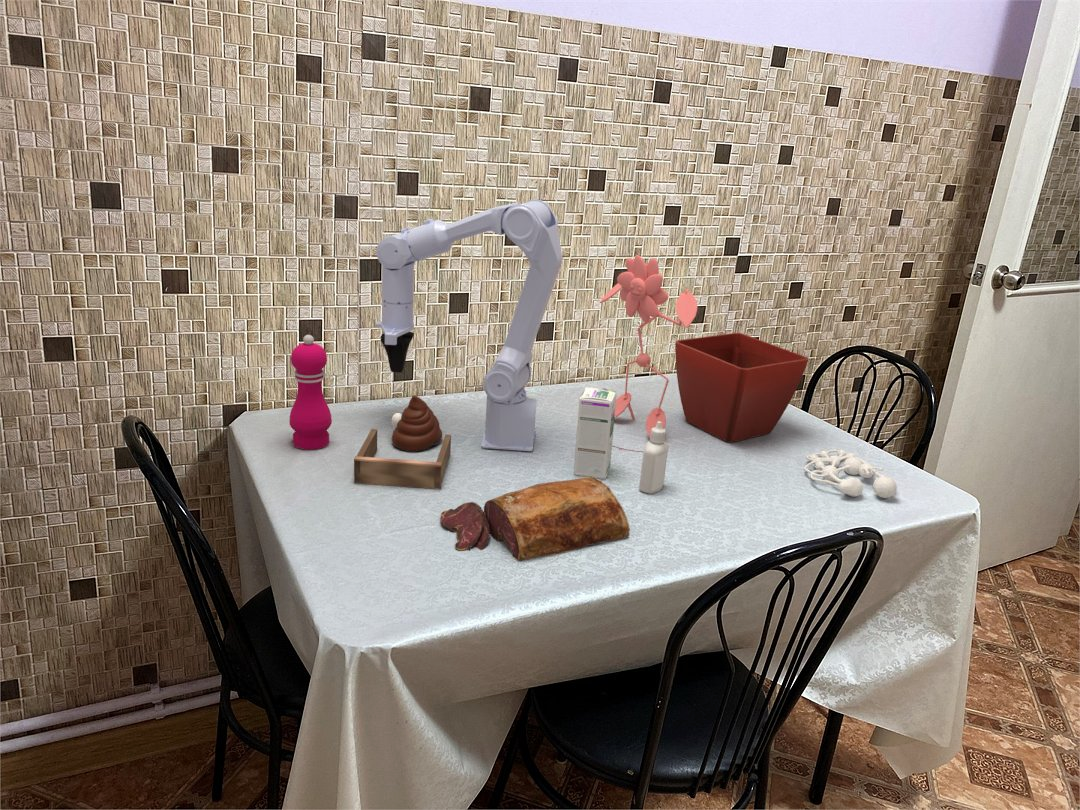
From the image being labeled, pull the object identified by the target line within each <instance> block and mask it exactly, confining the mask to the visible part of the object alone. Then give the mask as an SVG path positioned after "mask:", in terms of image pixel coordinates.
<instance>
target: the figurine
mask: <svg viewBox="0 0 1080 810" xmlns="http://www.w3.org/2000/svg"><path fill="white" fill-rule="evenodd" d="M625 267H626V270H627V271H623V272H621V273H620V274H619V275H618V276H617V278H616V281H617V283H616V284H615V285H614V286H613V287H612V288H611V289H609V290H608V292H606V293H605V295H604V296H603V298H601V300H600V301H599V303H600V304H602V303H604V302H606V301H608V300H610V299H611V298H612V297H614V296H615V295H616V294H618V292H620V293H619V296H620V297H619V298H620V300H621V301H623V302H625V311H626V312H625V313H626V315H627V317H630V318H632V317H635V315H636V313H638V316H639V317H640V319H641V321H642V322H643V323H642V324H639V325H638V327H637V332H638V341H639V347H640V353H639V354H638V355H637V356H636V358H635V360H631V361H630V362H627V364H626V373H625V374H626V375H625V387H624V388H625V391H624V393H623V394H621V395H620V396H618V397H616V405H615V417H614V419H615V418H617V417H618V416H620V415H621V414H623V412H625V410H626V409H627V408H628V409H629V413H630V417H631V420H632V421H634V420H635V419H636V418H635V415H634V411H633V409H632V408H633V407H632V405H631V401H632V394H631V393H630V392H629V393H628V378H629V366H630V365H631V364H632V365H633V364H635V363H636V364H637V365H638V366H639V367H640V368H647V367H648V368H649V369H651V371H654V373H656V374H658V375H659V376H661V377H662V378H663V379H665V380H666V382H665V386H664V388H663V392H662V394H661V398H660V401H659V405H658V407H655V408H653V409H652V410H651V411H650V413H649V414H648V415H647V418H646V420H645V429H646V432H647V434H648V437H649V438H650V435H651V429H652V428H654V427H656V425H657V422H658V421H660V422H662V428H663V429H665V428H666V423H667V421H666V415H665V411H664V410H663V409H662V408H661V407H662V404H663V400H664V399H665V398H664V397H665V394H666V391H667V388H668V385H669V378H668V377H666V376H665V375H663V374H662V373H660V372H659V371H658V370H657V369H655V368H654V367H652V366H651V365H650V363H651V356H650V355H649V354H647V353H644V348H643V339H642V331H641V329H642V328H644V327H645V326H646V325H647V324H649V323H651V322H652V321H653V320H656V319H657V318H662V319H664V320H665V321H666V320H667V321H668V322H670V323H673V324H675V325H678V326H680V327H681V326H682V325H683V326H685V327H686V328H689V327H690V325H692V323H693V321H694V320H695V318H696V317H697V313H698V309H699V308H698V302H697V301H698V300H697V299H696V297H695V296H694V293H692V292H690V290H689V289H685V290H684V292H683V293H681V294H680V295H679V296H678V299H677V300H676V304H675V312H676V316H677V318H678V320H679V321H677V320H676V319H673V318H671V317H669V316H666V315H664V314H663V313H662V311H660V309H659V305H663V304H665V303H666V302H667V301H668V299H669V294H668V293H667V292H666V290H664V289H663V288H662V285H663V280H664V278H663V275H662V274H660V273H659V264H658V260H657V258H655V257H652V258H651V259H649V261H648V262H647V263H646V262H645V260H644V259H643V257H642V256H641V255H640V254H636V255H634V258H631V257H629V258H626V260H625ZM665 436H667V435H666V434H665ZM612 448H617V449H618V450H621V451H627V452H629V451H630V452H637V453H643V451H641V450H640V451H639V450H632V449H627V448H623V447H618V446H616V445H615V446H614V445H612Z"/></svg>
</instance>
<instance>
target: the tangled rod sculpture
mask: <svg viewBox="0 0 1080 810" xmlns="http://www.w3.org/2000/svg"><path fill="white" fill-rule="evenodd" d="M830 453H836V455H831V456H829V454H830ZM805 459H806V460H807V461H809V462H808V463H807V464H806V465H805V466H803V470H804V471H805V472H807V473H808V474H809V477H810V479H811V480H812V481H815V482H820V483H825V484H830V485H832V486H836V487H838V489H839V491H840V492H842V493H843V494H846V495H847V496H849V497H855V498H856V497H858V496H860V495H861V494H862V493H863V489H864V485H863V483H862V481H861V480H860V479H858V478H856V477H849V478H847V479H846V478H845V479H844V478H842V479H841V478H839V476H840V475H839V474H840V472H842V471H844V472H845V473H846V474H848V475H850V476H857V475H859V476H860V477H861V478H864V479H869V478H872V477H873V476H875V477H877V478H876V479H875V480H874V481H873V484H872V489H873V492H874V493H875V495H876V496H878V497H880V498H882V499H883V498H884V499H888V498H891V497H892V496H894V495H895V494H896V492H897V488H898V486H897V483H896V481H895V479H894V478H892V477H890V476H886V475H882V473H880V472H883V470H884V469H883V467H881V466H880V467H877V466H876V467H875V466H873V465H872V464H871V463H869V462H867V461H866V460H864V459H862V458H861V457H858V456H856V455H855V454H854V453H853V452H846V451H845V449H840V450H839V449H830V450H828V451H826V450H822V451H820V452H814V453H812V454H810V455H806V456H805ZM841 461H844V462H843V464H842V465H843V466H841V467H839V466H840V463H841ZM825 463H828V464H829V465H825ZM812 465H813V466H814V467H815V470H812V471H811V470H809V469H808V468H809V467H810V466H812ZM877 470H879V471H880V472H877ZM816 477H817V478H816ZM821 478H822V479H821Z"/></svg>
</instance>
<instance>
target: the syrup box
mask: <svg viewBox="0 0 1080 810" xmlns="http://www.w3.org/2000/svg"><path fill="white" fill-rule="evenodd" d="M578 399H579V400H578V411H577V412H578V413H577V427H576V438H575V439H576V440H575V452H574V453H575V454H574V465H573V466H574V467H573V475H575V476H579V477H583V478H585V477H594V478H596V479H598V480H606V478H607V476H608V473H609V470H610V468H611V459H612V450H613V439H614V426H615V418H616V416H615V405H616V399H617V391H616V390H613V389H607V388H600V387H584V390H583V391H582V393H581V394H580V397H579V398H578ZM614 417H615V418H614Z"/></svg>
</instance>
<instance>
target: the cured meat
mask: <svg viewBox="0 0 1080 810" xmlns="http://www.w3.org/2000/svg"><path fill="white" fill-rule="evenodd" d="M440 523H441V525H442V526H443V527H444V528H445V529H448V531H451V532H454V533H456V539H457V541H456V542H455V543H454V548H455V549H456V550H458V551H465V550H468V551H469V552H471V551H472V549H471V548H477V549H478V550H480V551H484V549H485V548H486V546H487V545H488V543H489V539H490V536H491V537H492V538H493V539H494V540H495V541H496V542H499V541H501V540H503V541H504V543H505V545H506V546H507V547H508V548H509V549H510V551H511V555H512V557H513V558H514V559H515V560H517V561H524V560H529V559H535V558H538V557H539V558H540V557H546V556H551V555H556V554H562V553H567V552H570V551H574V550H578V549H582V548H584V547H588V546H591V545H594V544H600V543H605V542H609V541H617V540H621V539H625V538H629V536H630V525H629V519H628V517H627V514H626V512H625V510H624V508H623V506H622V504H621V503H620V501H619V500H618V498H617V496H616V495H615V494H614V491H612V489H611V487H609V486H608V485H607V484H605V483H604V482H603V480H601V479H598V478H594V477H581V478H579V477H578V478H574V479H567V480H558V481H557V480H555V481H549V482H548V481H547V482H542V483H538V484H534V485H531V486H528V487H525V488H522V489H518V490H515V491H510V492H506V493H505V494H504V493H503V494H502V495H500V496H497V497H494V498H492V499H489V500H487V501H485V503H484V506H483V509H482V506H481V505H479V504H478V503H477V502H473V501H468V502H464V503H462V504H461V505H459V506H457V507H456V508H454V509H453V508H449V509H448V510H447V509H446V510H444V511H442V512H441V513H440Z"/></svg>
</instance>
